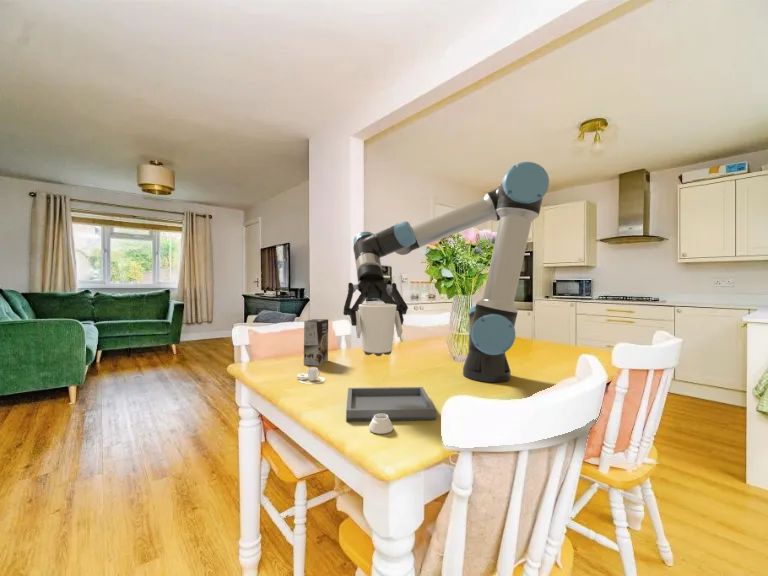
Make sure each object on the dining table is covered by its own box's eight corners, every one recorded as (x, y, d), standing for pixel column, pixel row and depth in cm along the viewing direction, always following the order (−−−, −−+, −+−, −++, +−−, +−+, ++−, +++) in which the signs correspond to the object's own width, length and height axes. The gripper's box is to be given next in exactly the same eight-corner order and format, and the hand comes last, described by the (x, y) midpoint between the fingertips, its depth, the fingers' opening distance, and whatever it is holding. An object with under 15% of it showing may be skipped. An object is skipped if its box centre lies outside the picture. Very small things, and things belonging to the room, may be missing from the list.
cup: (404, 354, 89) (404, 305, 88) (372, 359, 83) (373, 307, 83) (381, 347, 97) (381, 302, 96) (351, 352, 91) (351, 304, 91)
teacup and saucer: (293, 380, 108) (293, 367, 108) (315, 376, 113) (315, 363, 113) (307, 387, 101) (307, 373, 101) (330, 382, 107) (330, 368, 107)
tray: (422, 396, 93) (422, 386, 93) (435, 419, 77) (436, 408, 77) (348, 397, 92) (348, 387, 92) (346, 421, 76) (346, 410, 76)
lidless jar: (397, 431, 72) (383, 423, 75) (397, 417, 71) (383, 410, 75) (378, 437, 68) (364, 429, 72) (378, 423, 68) (364, 415, 72)
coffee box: (319, 366, 124) (320, 321, 124) (303, 365, 126) (303, 321, 125) (328, 360, 133) (329, 318, 133) (313, 359, 135) (313, 318, 134)
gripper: (403, 281, 107) (419, 341, 92) (330, 281, 102) (334, 344, 87) (408, 263, 101) (426, 324, 86) (331, 262, 97) (335, 326, 82)
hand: (379, 334), depth 87 cm, fingers closed on cup, 10 cm apart
